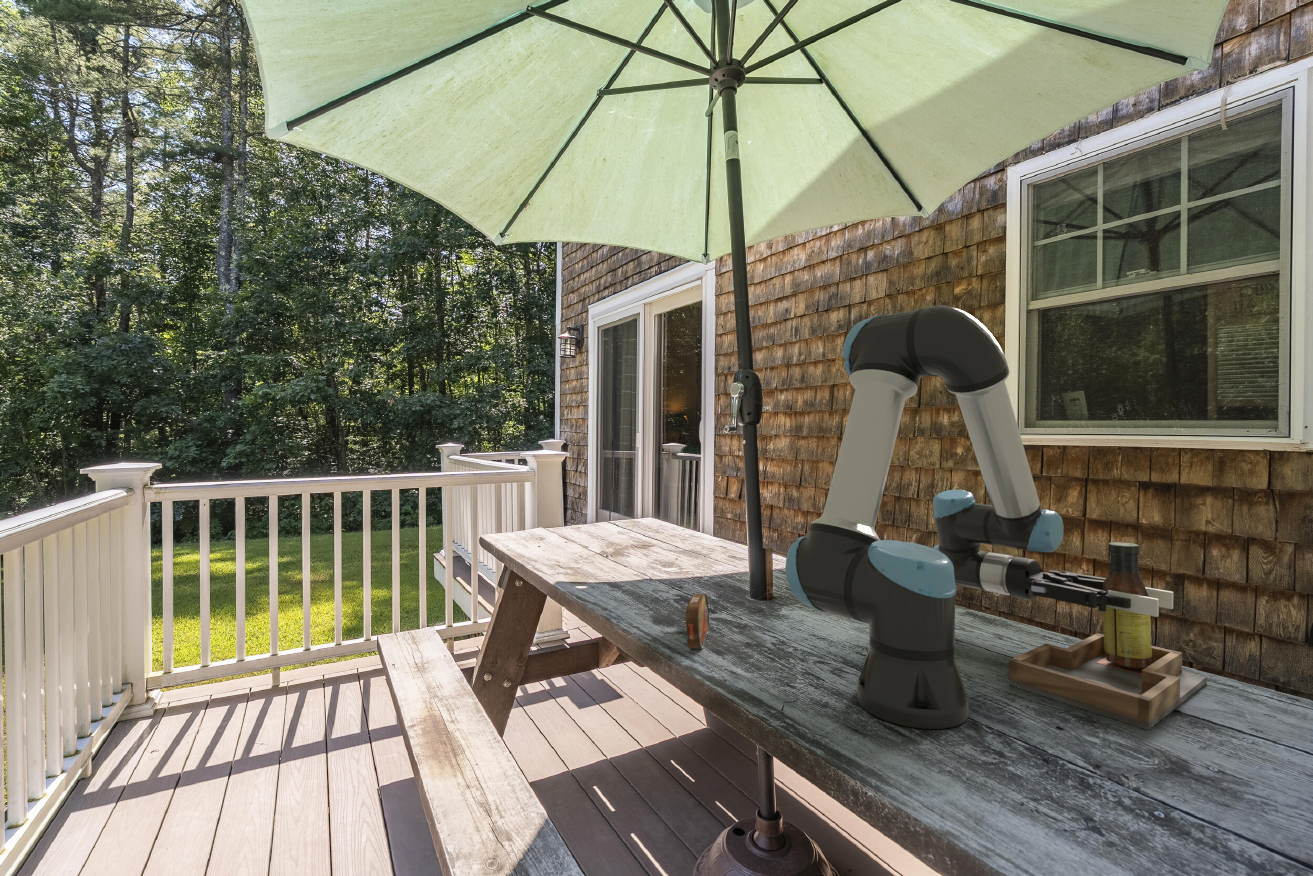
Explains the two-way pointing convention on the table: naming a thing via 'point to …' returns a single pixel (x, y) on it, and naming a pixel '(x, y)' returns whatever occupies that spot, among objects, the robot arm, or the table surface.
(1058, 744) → the table surface
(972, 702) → the table surface
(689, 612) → the tin
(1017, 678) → the keyhole guide
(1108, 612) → the sauce bottle
